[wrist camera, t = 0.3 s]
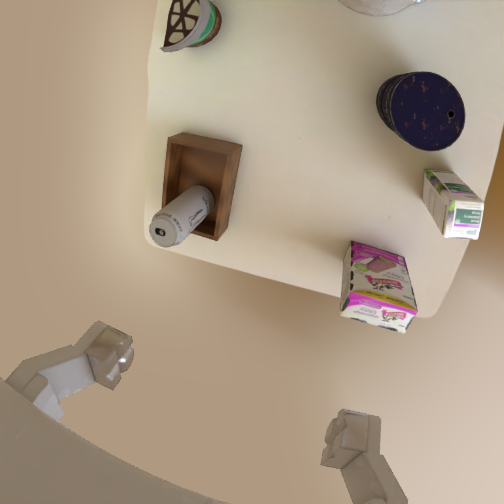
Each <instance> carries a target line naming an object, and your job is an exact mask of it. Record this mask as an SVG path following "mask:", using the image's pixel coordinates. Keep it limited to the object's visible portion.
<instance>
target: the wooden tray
mask: <svg viewBox="0 0 504 504" xmlns="http://www.w3.org/2000/svg"><path fill="white" fill-rule="evenodd" d="M241 151H242V145H238V144H234V143H230V142H226V141H221V140H217V139H212V138H208V137H203V136H198V135H193V134H189V133H183V132H182V133H179V134H177V135H174V136H171V137H168V141H167V151H166V161H165V172H164V183H163V196H162V208H164V207H165V206H166V205H168V204H169V203H170V202H172V201H173V200H174V199H176V198H177V197H178V196H180V195H181V194H182V193H184V192H185V191H186V190H188V189H189V188H190V187H192V186H196V185H199V186H203V187H205V188H207V189H208V190H209V191H210V192H211V193H212V195H213V197H214V202H215V203H214V208H213V210H212V211H211V212H210V213H209V214H208V215H207V216H206V217H205V219H204V220H203V221H202V222H201V223H200V224H199V225H198V226H197V227H196V228H195V229H194V230H193V231H192V232H191V233H193V234H196V235H199V236H202V237H205V238H209V239H212V240H215V241H218V239H219V238H220V237H221V235H222V234H223V233H224V232H225V230H226V229H227V226H228V221H229V215H230V209H231V204H232V198H233V193H234V188H235V182H236V177H237V172H238V166H239V161H240V156H241Z"/></svg>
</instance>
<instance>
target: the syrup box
mask: <svg viewBox="0 0 504 504" xmlns="http://www.w3.org/2000/svg"><path fill="white" fill-rule="evenodd" d="M423 202H424V203H425V205H426V207H427V208H428V210H429V212H430V214H431V215H432V217H433V219H434V221H435V222H436V224H437V226H438V228H439V230H440V231H441V233H442V235H443V237H444V238H458V239H475V240H477V239H478V235H479V230H480V226H481V221H482V215H483V208H484V202H483V201H482V200H481V199H480V198H479V197H478V196H477V195H476V194H475V193H474V192H473V191H472V190H471V189H470V188H469V187H468V186H467V185H466V184H465V183H464V182H463V181H462V180H461V179H460V178H459V177H458V176H457V175H456V174H455V173H454V172H449V171H441V170H428V169H425V170H424V188H423Z"/></svg>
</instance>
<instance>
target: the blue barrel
mask: <svg viewBox="0 0 504 504" xmlns="http://www.w3.org/2000/svg"><path fill="white" fill-rule="evenodd" d="M376 104H377V110H378V113H379V115H380V117H381V119H382V120H383V121H384V123H385V124H386V125H387V126H388V127H389V128H390V129H391V130H392V131H394V132H395V133H396V134H397V135H398V136H399V137H400V138H402V139H403V140H404V141H406V142H407V143H409V144H410V145H412V146H414V147H416V148H418V149H421V150H424V151H439V150H442V149H445V148H447V147H449V146H451V145H452V144H453V143H454V142H455V141H456V140H457V139H458V138H459V136H460V134H461V132H462V130H463V127H464V123H465V108H464V104H463V101H462V98H461V96H460V94H459V92H458V91H457V89H456V88H455V87H454V86H453V85H452V84H451V83H450V82H449V81H448V80H447V79H445V78H444V77H442V76H440V75H438V74H435V73H432V72H411V73H406V74H402V75H397V76H394V77H392V78H390V79H388V80H387V81H386V82H384V83H383V84H382V86H381V87H380V89H379V91H378V94H377V99H376Z"/></svg>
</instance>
